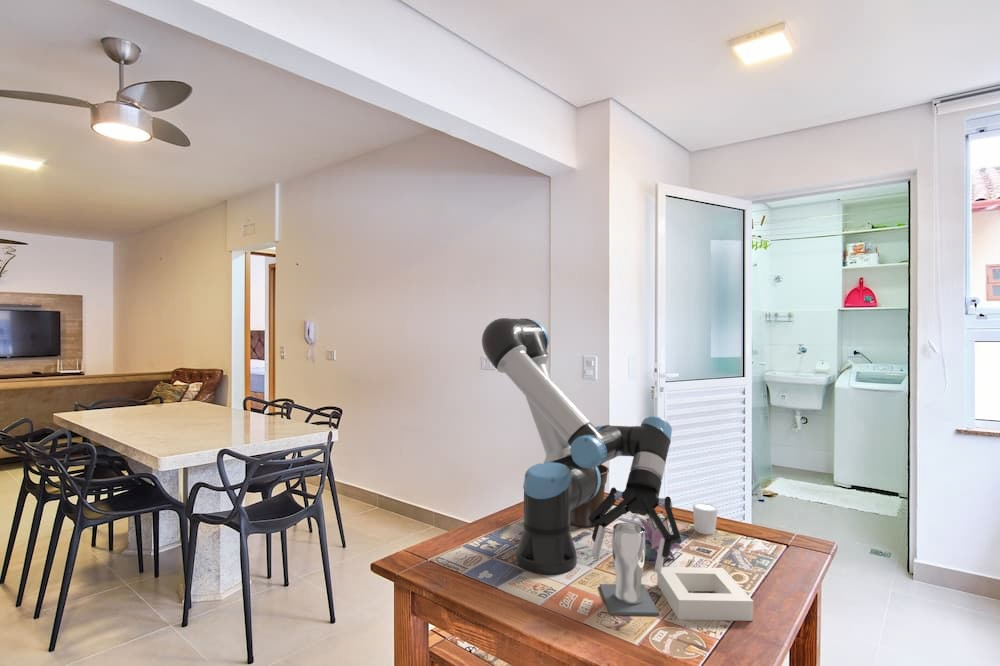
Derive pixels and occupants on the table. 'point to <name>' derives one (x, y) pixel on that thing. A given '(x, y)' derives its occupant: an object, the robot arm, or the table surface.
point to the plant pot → (589, 503)
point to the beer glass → (628, 561)
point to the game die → (664, 521)
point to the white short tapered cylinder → (705, 518)
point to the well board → (704, 594)
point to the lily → (656, 538)
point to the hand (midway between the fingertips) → (625, 563)
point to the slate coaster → (628, 609)
